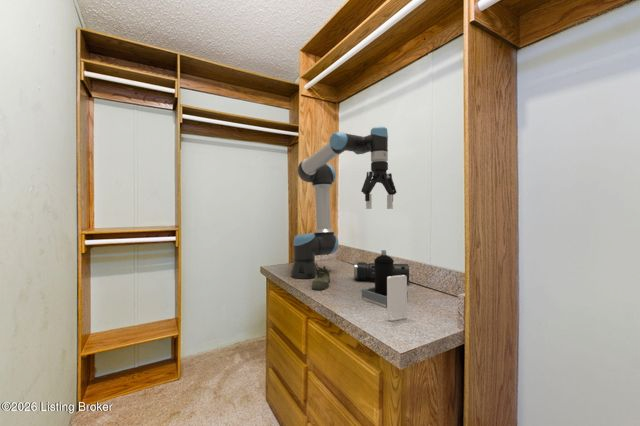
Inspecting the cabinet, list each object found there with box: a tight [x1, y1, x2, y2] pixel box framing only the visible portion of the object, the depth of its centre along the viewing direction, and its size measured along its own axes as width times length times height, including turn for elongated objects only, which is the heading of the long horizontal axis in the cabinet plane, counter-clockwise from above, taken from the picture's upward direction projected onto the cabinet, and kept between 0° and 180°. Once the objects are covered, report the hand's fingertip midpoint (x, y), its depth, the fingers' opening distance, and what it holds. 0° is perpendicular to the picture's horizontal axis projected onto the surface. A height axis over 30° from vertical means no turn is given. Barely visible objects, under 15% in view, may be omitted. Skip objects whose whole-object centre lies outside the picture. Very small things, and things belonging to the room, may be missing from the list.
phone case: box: [386, 275, 408, 322], centre depth 98 cm, size 7×1×15 cm, turn 111°
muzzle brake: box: [353, 261, 410, 284], centre depth 150 cm, size 10×28×10 cm, turn 78°
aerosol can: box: [373, 249, 395, 296], centre depth 120 cm, size 8×8×20 cm
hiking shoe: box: [311, 262, 332, 291], centre depth 142 cm, size 8×20×12 cm, turn 168°
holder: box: [361, 286, 409, 309], centre depth 120 cm, size 13×13×4 cm
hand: (379, 208), depth 128 cm, fingers open, 13 cm apart
